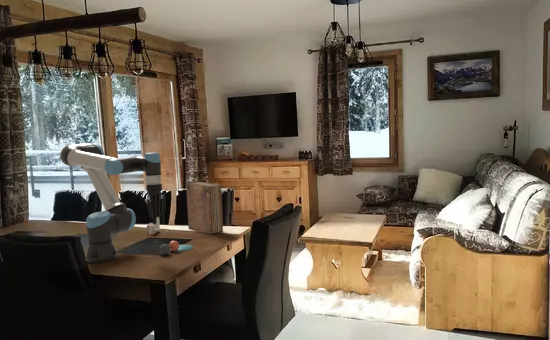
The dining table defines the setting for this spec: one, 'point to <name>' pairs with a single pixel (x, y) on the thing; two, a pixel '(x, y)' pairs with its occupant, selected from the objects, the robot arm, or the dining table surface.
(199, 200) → the book
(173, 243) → the object ball
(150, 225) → the mineral specimen
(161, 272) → the dining table surface
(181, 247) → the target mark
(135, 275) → the dining table surface
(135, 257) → the dining table surface
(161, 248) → the gray ball
